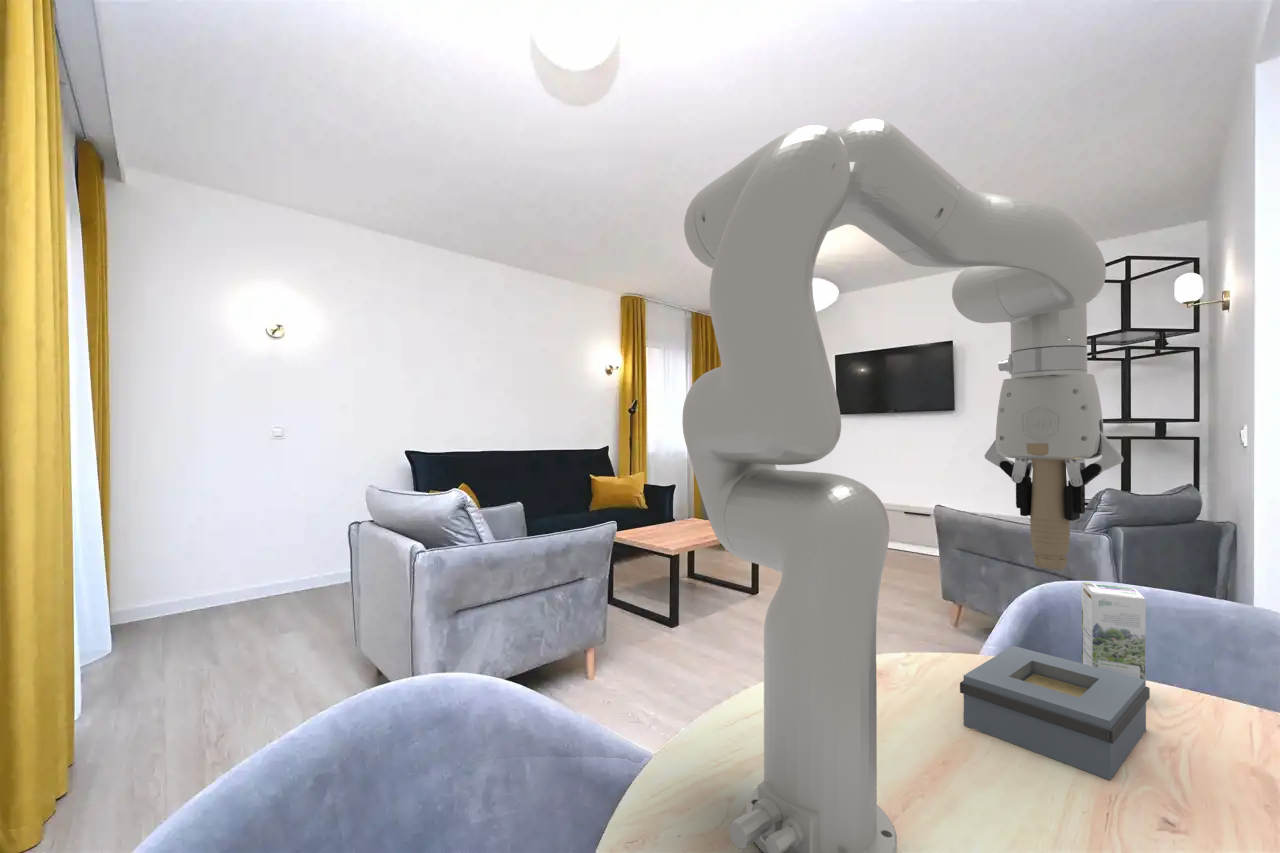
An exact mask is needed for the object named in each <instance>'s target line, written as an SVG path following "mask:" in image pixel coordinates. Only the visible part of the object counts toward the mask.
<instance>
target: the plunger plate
mask: <svg viewBox="0 0 1280 853" xmlns="http://www.w3.org/2000/svg"><path fill="white" fill-rule="evenodd" d="M1024 681H1025V682H1029V683H1032V684H1036V685H1039V686H1042V687H1046V688H1049V689H1052V690H1056V691H1059V692H1063V693H1066V694H1069V695H1073V696H1076V697H1079V698H1080V697H1081V696H1082V695H1083V694H1084V693H1085V692H1086V691H1087V690H1088V689H1087V688H1083V687H1080V686H1076V685H1073V684H1069V683H1066V682H1062V681H1059V680H1055V679H1051V678H1048V677H1044V676H1041V675H1037V674H1032V675H1031V676H1030V677H1028V678H1027V679H1026V680H1024Z"/></svg>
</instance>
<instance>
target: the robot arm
mask: <svg viewBox="0 0 1280 853" xmlns="http://www.w3.org/2000/svg"><path fill="white" fill-rule="evenodd" d="M846 225H850V226H853V227H855V228H858V229H859V230H860V231H861V232H863V233H865V234H866V235H868V236H869V237H870V238H872V239H874V240H875V241H876V242H878V243H879V244H881V245H882V246H884V247H885V248H887V250H889V251H890V252H892V253H893V254H894V255H896V256H897V257H898V258H900V259H901V260H902V261H904V262H906V263H907V264H910V265H913V266H916V267H926V268H944V269H946V268H947V269H948V268H951V269H953V268H955V269H956V268H957V269H958V268H964V269H963V270H962V271H960V273H958V275H957V276H956V278H955V280H954V282H953V284H952V289H951V297H952V301H953V305H954V306H955V309H956V310H957V311H958V313H960V315H961V316H962V317H964V318H966V320H969V321H972V322H974V323H979V324H980V323H981V324H994V323H995V324H996V323H997V324H998V323H1010V353H1009V354H1008V358H1007V359H1005V360H999V361H998V367H997V368H998V370H999V371H1000V372H1007V373H1008V374H1009V375H1010V378H1005V379H1003V380H1002V385H1001V387H1000V395H999V398H998V407H997V412H996V413H997V416H996V428H995V440H994V441H993V443H992V444H991V445H990V446H989V448H988V449H987V450H986V452H985V454H984V458H985V460H987V461H988V462H990V463H992V464H994V466H996V467H999V468H1000V469H1001V470H1002V471H1003V472H1004V473H1005V474H1006V475H1007V476H1009V478H1010V479H1011V481H1012V482H1013V483H1014V484H1015V507H1016V509H1019V514H1020V516H1021V517H1030V510H1031V494H1032V473H1033V466H1032V461H1031V460H1030V459H1055V460H1065V463H1066V473H1067V475H1068V476H1067V477H1068V479H1069V480H1068V481H1067V486H1066V487H1065V488H1064V499H1065V519H1067V520H1069V521H1070V522H1071V521H1072V522H1073V521H1076V520H1079V519H1080V518H1081V514H1082V515H1083V514H1085V512H1086V492H1085V491H1086V485H1088V484H1089V483H1090V482H1091V481H1093V479H1095V478H1097V476H1099V475H1101V474H1102V473H1103V472H1105V471H1108V470H1110V469H1112V468H1114V467H1115V466H1118V465H1120V464H1122V463H1123V462H1124V457H1123V456H1122V454H1121V453H1120V452H1119V451H1118V449H1117V448H1116V447H1115V446H1114V444H1112V442H1111V441H1110V440H1109V439H1108V437H1107V436H1106V435H1105V432H1104V431H1105V428H1104V418H1103V411H1102V405H1101V398H1100V394H1099V389H1098V385H1097V380H1096V378H1095V375H1094V374H1092V373H1088V348H1087V347H1088V332H1087V331H1088V329H1087V328H1088V327H1087V325H1088V324H1087V311H1088V310H1087V304H1089V303H1090V302H1091V301H1092V300H1094V299H1095V298H1096V297H1097V296H1098V295H1099V294H1100V292H1101V291H1102V289H1103V287H1104V284H1105V281H1106V277H1107V269H1106V267H1107V266H1106V262H1105V258H1104V256H1103V253H1102V251H1101V249H1100V248H1099V246H1098V244H1097V243H1096V242H1095V240H1094V239H1093V237H1091V235H1090V234H1089V233H1088V232H1087V231H1086V230H1085V229H1084V228H1083V227H1082V226H1081V225H1080V224H1079V223H1078V222H1077V221H1076V220H1075V219H1074V218H1073V217H1072V216H1070V215H1069V214H1068V213H1066V212H1065V211H1064V210H1061V209H1059V208H1058V207H1055V206H1054V205H1050V204H1047V203H1045V202H1041V201H1036V200H1031V199H1026V198H1019V197H1016V196H1015V197H1014V196H1009V195H1005V194H998V193H992V192H983V191H976V190H975V191H973V190H970V189H968V188H966V187H965V186H964V185H963V184H961V182H959V181H958V180H957V178H955V177H954V176H953V175H952V174H950V173H949V172H948V171H947V170H946V169H944V167H943V166H941V165H940V164H939V163H938V162H936V160H934V159H933V158H932V157H931V156H929V154H927V152H925V151H924V150H923V149H922V148H920V146H918V144H916V143H915V142H914V141H912V140H911V139H910V137H908V136H907V135H906V134H904V133H903V132H902V131H900V129H899V128H898V127H896V126H895V125H893V124H891V123H890V122H888V121H886V120H884V119H879V118H864V119H861V120H857V121H855V122H851V123H850V124H849V123H848V125H846V126H843V127H841V128H840V129H838V130H836V131H834V130H833V129H831V128H829V127H827V126H823V125H818V124H810V125H805V126H800V127H797V128H793V129H791V130H789V131H787V132H785V133H783V134H781V135H779V136H778V137H776V138H775V139H773V140H772V141H770V142H768V143H767V144H765V145H764V146H762V147H761V148H759V149H758V150H757V149H756V151H754V152H753V153H751V154H750V155H749V156H747V157H745V158H744V159H742V161H740V162H739V163H738V164H736V165H735V166H734V167H732V168H730V169H729V170H728V171H726V172H724V174H722V175H720V176H719V177H717V178H716V179H714V180H713V181H711V182H710V183H708V184H707V185H706V186H705V187H703V188H702V189H701V190H700V191H699V192H698V193H696V195H695V196H694V197H693V198H692V199H691V201H690V203H689V204H688V206H687V209H686V212H685V216H684V222H683V229H684V230H683V231H684V237H685V241H686V244H687V245H688V248H689V250H690V252H691V253H692V254H693V255H694V257H695V258H696V259H697V260H698V261H699V262H700V263H701V264H703V265H705V266H706V267H708V268H710V269H712V271H711V276H710V285H709V310H710V317H711V323H712V328H713V330H714V331H713V332H714V335H715V340H716V344H717V348H718V354H719V359H720V361H721V366H719V367H716V368H713V369H711V370H709V371H706V372H704V373H703V374H701V376H700V377H698V378H697V379H696V380H695V381H694V382H693V384H692V385H691V386H690V388H689V390H688V391H687V394H686V396H685V399H684V401H683V402H684V403H683V409H682V423H681V424H682V432H683V438H684V442H685V445H686V446H685V447H686V449H687V453H688V454H687V455H688V456H689V460H690V463H691V466H692V469H693V473H694V478H695V479H696V482H697V486H698V490H699V493H700V496H701V500H702V502H703V503H702V504H703V505H704V509H705V512H706V516H707V518H708V521H709V523H710V526H711V529H712V531H713V533H714V535H715V537H716V538H717V539H718V542H719V543H720V544H721V545H722V546H723V548H724V549H725V550H727V551H728V552H729V553H731V555H733V556H734V557H737V558H739V559H741V560H744V561H746V562H750V563H752V564H756V565H759V566H762V567H765V568H768V569H772V570H775V571H777V572H780V573H781V580H780V582H779V585H778V587H777V590H776V592H775V593H774V595H773V597H772V599H771V601H770V603H769V605H768V609H767V611H766V615H765V619H764V627H763V781H762V782H760V783H758V784H757V788H755V789H754V791H753V792H752V793H751V794H750V796H749V798H748V799H747V803H746V813H744V814H743V815H741V816H739V817H737V818H736V819H735V820H733V821H731V822H730V824H729V826H728V833H729V837H730V840H731V841H732V843H733V845H735V847H737V848H738V849H740V850H744V849H745V848H747V847H748V846H750V845H752V844H753V843H755V844H756V845H757V847H758V848H759V850H760V851H762V852H763V853H897V852H898V851H897V850H898V844H897V833H896V832H897V831H896V830H895V826H894V824H893V822H892V821H891V819H890V817H889V816H888V815H887V814H886V813H885V811H884V810H883V809H882V808H881V807H880V806H879V805H878V802H877V801H878V798H877V796H878V794H877V792H878V790H877V787H878V785H877V782H878V778H877V776H878V775H877V774H878V772H877V770H878V768H877V766H878V764H877V763H878V762H877V760H878V758H877V757H878V756H877V755H878V754H877V747H878V746H877V743H878V742H877V736H878V735H877V732H878V731H877V728H878V727H877V725H878V724H877V723H878V722H877V716H878V715H877V714H878V713H877V708H878V707H877V703H878V702H877V698H878V697H877V694H878V693H877V690H878V689H877V687H878V686H877V682H878V679H877V628H878V627H877V624H878V623H877V621H878V606H879V605H878V603H879V597H880V587H881V583H882V577H883V571H884V567H885V562H886V558H887V552H888V548H889V542H890V521H889V515H888V513H887V511H886V508H885V505H884V503H883V501H882V500H881V499H880V498H879V496H878V495H877V494H876V492H874V491H873V490H872V489H871V488H870V487H868V486H867V485H865V484H864V483H862V482H860V481H858V480H856V479H853V478H850V477H847V476H845V475H839V474H835V473H828V472H817V471H816V472H815V471H802V470H783V469H782V470H781V469H777V466H790V465H791V466H793V465H807V464H809V463H810V464H811V463H814V462H816V461H820V460H822V459H823V458H825V457H826V456H828V455H829V454H831V453H832V451H834V449H835V448H836V446H837V444H838V442H839V440H840V438H841V432H842V417H841V411H840V403H839V399H838V395H837V392H836V387H835V383H834V379H833V375H832V371H831V368H830V363H829V360H828V356H827V352H826V348H825V344H824V340H823V336H822V333H821V329H820V326H819V322H818V321H819V320H818V316H817V310H816V306H815V300H814V294H813V293H814V292H813V291H814V290H813V279H814V270H815V266H816V262H817V258H818V255H819V252H820V249H821V246H822V244H823V242H824V240H825V238H826V235H827V234H828V232H830V231H833V230H836V229H837V228H840V227H843V226H846ZM1027 444H1048V448H1049V452H1048V454H1047V455H1043V456H1036V455H1031V454H1028V453H1027ZM1100 456H1101V458H1100V459H1098V460H1096V461H1095V462H1092V463H1090V464H1088V465H1086V460H1089V459H1094V458H1098V457H1100ZM1010 459H1014V461H1013V460H1010Z"/></svg>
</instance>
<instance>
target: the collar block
mask: <svg viewBox="0 0 1280 853" xmlns="http://www.w3.org/2000/svg"><path fill="white" fill-rule="evenodd" d="M1032 674H1037V675H1041V676H1044V677H1048V678H1051V679H1055V680H1059V681H1062V682H1066V683H1069V684H1073V685H1076V686H1080V687H1083V688H1087V689H1088V690H1087V691H1086V692H1085V693H1084V694H1083V695H1082V696H1081V697H1080V698H1079V697H1076V696H1073V695H1069V694H1066V693H1063V692H1059V691H1056V690H1052V689H1049V688H1046V687H1042V686H1039V685H1036V684H1032V683H1029V682H1025V681H1024V680H1026V679H1027V678H1028V677H1030V676H1031V675H1032ZM1146 680H1147V679H1146ZM1146 680H1144V679H1140V678H1136V677H1133V676H1129V675H1125V674H1121V673H1117V672H1113V671H1109V670H1105V669H1102V668H1098V667H1094V666H1090V665H1086V664H1082V662H1078V661H1075V660H1070V659H1066V658H1062V657H1057V656H1054V655H1051V654H1047V653H1042V652H1038V651H1034V650H1031V649H1027V648H1023V647H1018V646H1015V645H1011V646H1010V647H1008V648H1006V649H1004V650H1003V651H1001V652H1000V653H998V654H996V655H995V656H993V657H991V658H990V659H989V660H987V661H985V662H983V663H981V664H980V665H978V666H977V667H975V668H973V669H972V670H970V671H968V672H967V673H965V674H963V679H962V681H960V682H959V693H961V694H962V695H963V726H965V727H968V728H970V729H973V730H975V731H978V732H981V733H984V734H986V735H988V736H992V737H994V738H996V739H1000V740H1001V741H1005V742H1007V743H1010V744H1012V745H1013V744H1014V745H1016V746H1018V747H1020V748H1024V749H1026V750H1029V751H1031V752H1034V753H1037V754H1038V755H1039V754H1040V755H1042V756H1044V757H1048V758H1050V759H1052V760H1055V761H1058V762H1061V763H1063V764H1066V765H1068V766H1072V767H1074V768H1077V769H1079V770H1082V771H1085V772H1086V773H1090V774H1092V775H1094V776H1098V777H1100V778H1103V779H1106V780H1109V781H1111V780H1112V779H1113V777H1115V775H1116V773H1117V772H1118V771H1119V769H1120V767H1121V766H1122V765H1123V763H1124V762H1125V761H1126V759H1127V758H1128V756H1129V755H1130V754H1131V752H1132V750H1134V748H1135V747H1136V745H1137V744H1138V743H1139V741H1140V740H1141V738H1142V737H1143V735H1144V734H1145V733H1146V731H1147V702H1148V700H1150V697H1151V696H1150V691H1151V690H1150V689H1151V688H1150V687H1149V686H1146V684H1147V683H1146V682H1147V681H1146Z"/></svg>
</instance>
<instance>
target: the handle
mask: <svg viewBox="0 0 1280 853" xmlns="http://www.w3.org/2000/svg"><path fill="white" fill-rule="evenodd" d="M1048 452H1049V448H1048V444H1027V453H1028V454H1031V455H1036V456H1043V455H1047V454H1048ZM1030 460H1031V461H1032V466H1033V467H1032V474H1031V482H1032V494H1031V510H1030V515H1029V517H1030V518H1029V522H1030V524H1029V527H1030V531H1029V532H1030V538H1031V547H1032V552H1034V553H1035V554H1034V555H1033V562H1034V565H1035V566H1036V567H1038V568H1042V569H1043V568H1044V569H1046V570H1056V571H1057V570H1058V571H1062V570H1064V569H1065V568H1066V567H1067V560H1068V558H1067V556H1068V554H1069V551H1070V540H1071V539H1070V537H1071V532H1070V531H1071V527H1070V526H1071V521H1069V520H1067V519H1065V499H1064V488H1065V487H1066V486H1068V481H1067V480H1068V479H1067V467H1066V463H1065V460H1055V459H1030ZM1066 555H1067V556H1066Z"/></svg>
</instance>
